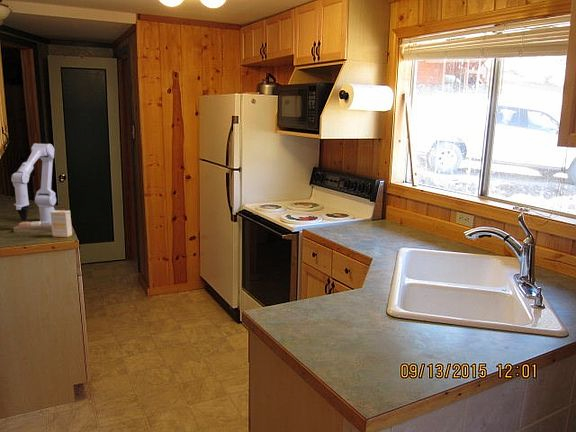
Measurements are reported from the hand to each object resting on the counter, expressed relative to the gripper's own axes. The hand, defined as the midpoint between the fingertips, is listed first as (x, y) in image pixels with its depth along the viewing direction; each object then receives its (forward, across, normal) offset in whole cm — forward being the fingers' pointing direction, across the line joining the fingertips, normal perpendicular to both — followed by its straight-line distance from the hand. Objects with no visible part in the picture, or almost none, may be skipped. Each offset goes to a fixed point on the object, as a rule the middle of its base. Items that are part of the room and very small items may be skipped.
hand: (24, 220), depth 260 cm
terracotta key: (+3, 0, 0) cm, 3 cm away
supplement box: (+5, +17, +22) cm, 29 cm away
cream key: (+3, 0, +5) cm, 6 cm away
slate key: (+3, 0, +11) cm, 11 cm away
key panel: (+5, 0, +6) cm, 7 cm away
